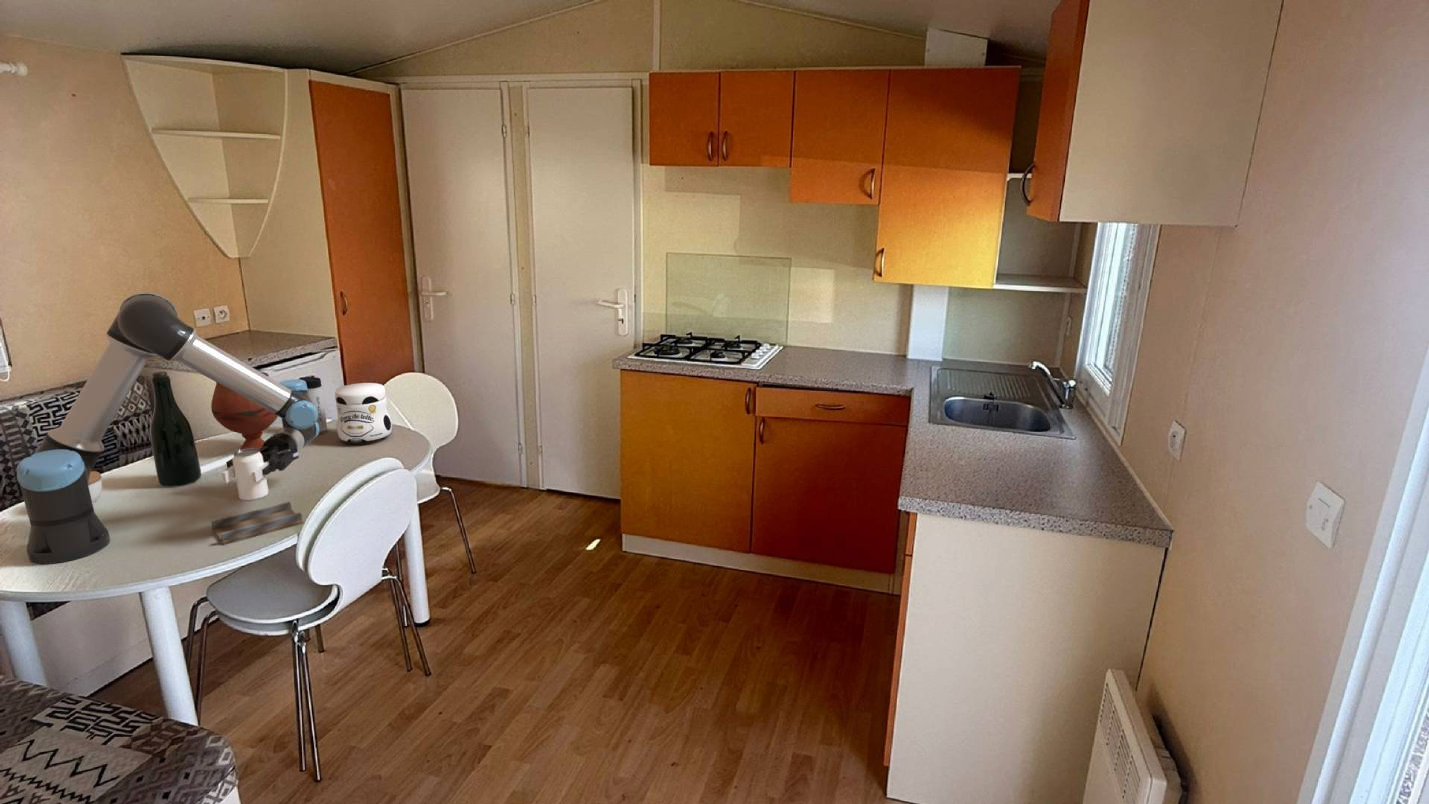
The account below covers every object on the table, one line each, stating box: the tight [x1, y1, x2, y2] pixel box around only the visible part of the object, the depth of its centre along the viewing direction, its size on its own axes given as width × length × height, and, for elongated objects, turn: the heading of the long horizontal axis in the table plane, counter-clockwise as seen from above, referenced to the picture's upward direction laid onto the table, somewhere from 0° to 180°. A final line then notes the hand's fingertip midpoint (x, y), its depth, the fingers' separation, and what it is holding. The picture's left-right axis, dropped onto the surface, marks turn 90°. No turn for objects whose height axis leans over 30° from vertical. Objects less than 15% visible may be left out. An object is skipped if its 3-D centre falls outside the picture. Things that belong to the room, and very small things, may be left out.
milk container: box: [334, 382, 393, 444], centre depth 256 cm, size 17×17×18 cm
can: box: [232, 448, 269, 502], centre depth 190 cm, size 6×6×12 cm
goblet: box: [210, 371, 279, 450], centre depth 243 cm, size 19×19×25 cm
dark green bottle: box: [149, 371, 202, 487], centre depth 216 cm, size 10×10×33 cm
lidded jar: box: [88, 470, 103, 505], centre depth 203 cm, size 11×11×9 cm
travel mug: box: [298, 376, 329, 436], centre depth 262 cm, size 6×7×20 cm
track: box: [211, 501, 304, 546], centre depth 193 cm, size 18×11×3 cm, turn 135°
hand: (239, 477), depth 184 cm, fingers closed on can, 6 cm apart
